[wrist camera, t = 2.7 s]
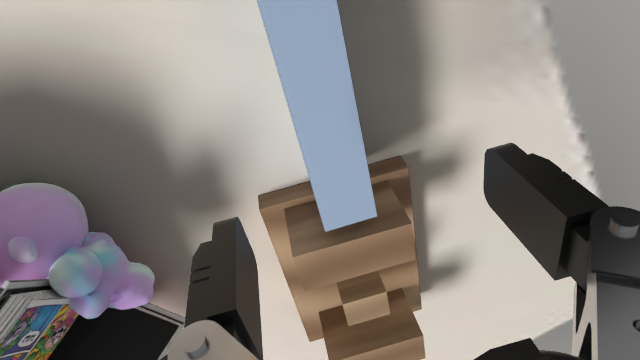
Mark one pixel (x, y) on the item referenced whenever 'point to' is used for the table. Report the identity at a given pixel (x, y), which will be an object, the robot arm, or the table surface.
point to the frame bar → (321, 105)
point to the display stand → (352, 268)
